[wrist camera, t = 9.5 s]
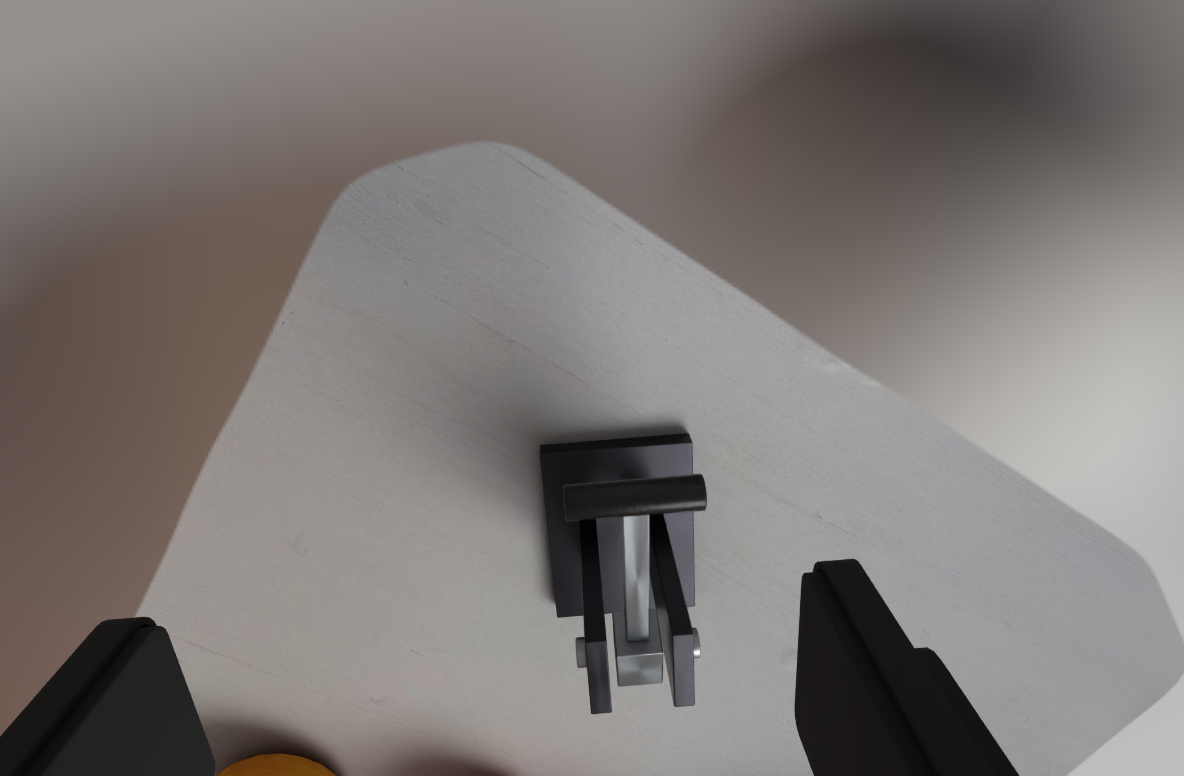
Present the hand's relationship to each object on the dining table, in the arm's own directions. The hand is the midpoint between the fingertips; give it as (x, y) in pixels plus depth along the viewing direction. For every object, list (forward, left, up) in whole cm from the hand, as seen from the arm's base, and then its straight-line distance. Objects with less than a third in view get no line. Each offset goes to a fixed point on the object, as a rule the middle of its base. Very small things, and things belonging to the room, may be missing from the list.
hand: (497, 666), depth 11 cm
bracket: (+16, +8, -30) cm, 35 cm away
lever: (+11, +7, -19) cm, 23 cm away
